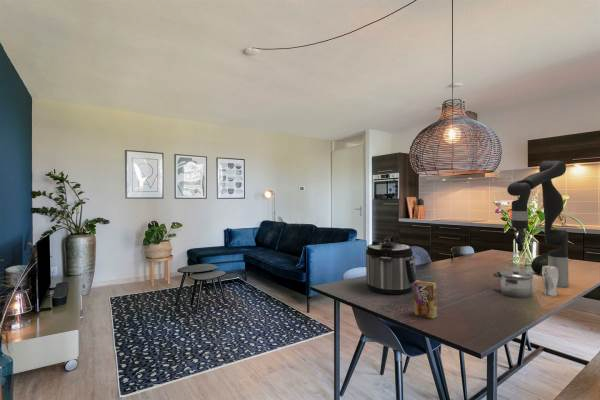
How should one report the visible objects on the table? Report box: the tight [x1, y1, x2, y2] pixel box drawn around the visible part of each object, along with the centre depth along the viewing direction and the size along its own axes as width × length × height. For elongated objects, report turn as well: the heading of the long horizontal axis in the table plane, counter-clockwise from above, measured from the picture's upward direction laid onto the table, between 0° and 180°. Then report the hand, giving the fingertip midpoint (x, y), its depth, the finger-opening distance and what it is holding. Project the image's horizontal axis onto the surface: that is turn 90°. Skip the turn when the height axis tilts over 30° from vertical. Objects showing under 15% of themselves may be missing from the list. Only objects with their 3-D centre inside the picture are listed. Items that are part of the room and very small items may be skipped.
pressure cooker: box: [365, 235, 417, 295], centre depth 183 cm, size 30×28×32 cm
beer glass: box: [541, 266, 559, 297], centre depth 167 cm, size 7×7×15 cm
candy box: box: [413, 279, 438, 319], centre depth 140 cm, size 9×4×15 cm, turn 47°
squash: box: [530, 253, 548, 276], centre depth 209 cm, size 14×15×15 cm
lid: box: [496, 269, 534, 279], centre depth 169 cm, size 15×16×2 cm
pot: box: [493, 271, 533, 299], centre depth 170 cm, size 19×17×10 cm
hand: (520, 251), depth 167 cm, fingers closed
